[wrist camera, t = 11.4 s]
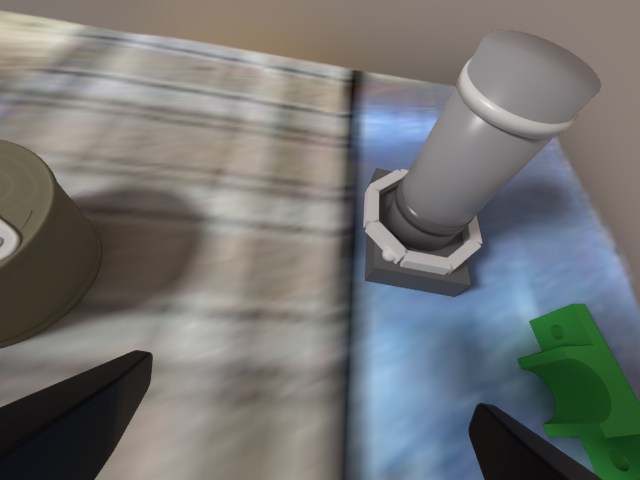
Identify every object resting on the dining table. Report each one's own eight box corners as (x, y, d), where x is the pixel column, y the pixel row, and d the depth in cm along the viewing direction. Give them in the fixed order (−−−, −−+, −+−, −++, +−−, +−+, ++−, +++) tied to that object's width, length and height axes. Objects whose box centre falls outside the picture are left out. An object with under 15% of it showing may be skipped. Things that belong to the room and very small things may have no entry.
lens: (466, 233, 27) (624, 82, 15) (419, 265, 24) (566, 113, 13) (417, 185, 29) (522, 22, 17) (370, 210, 26) (455, 37, 15)
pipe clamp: (500, 323, 26) (542, 303, 22) (537, 321, 27) (584, 303, 23) (567, 490, 20) (639, 504, 16) (613, 483, 21) (693, 495, 17)
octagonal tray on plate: (465, 298, 26) (490, 282, 23) (353, 278, 25) (365, 259, 23) (450, 202, 32) (468, 179, 29) (359, 183, 31) (369, 158, 29)
